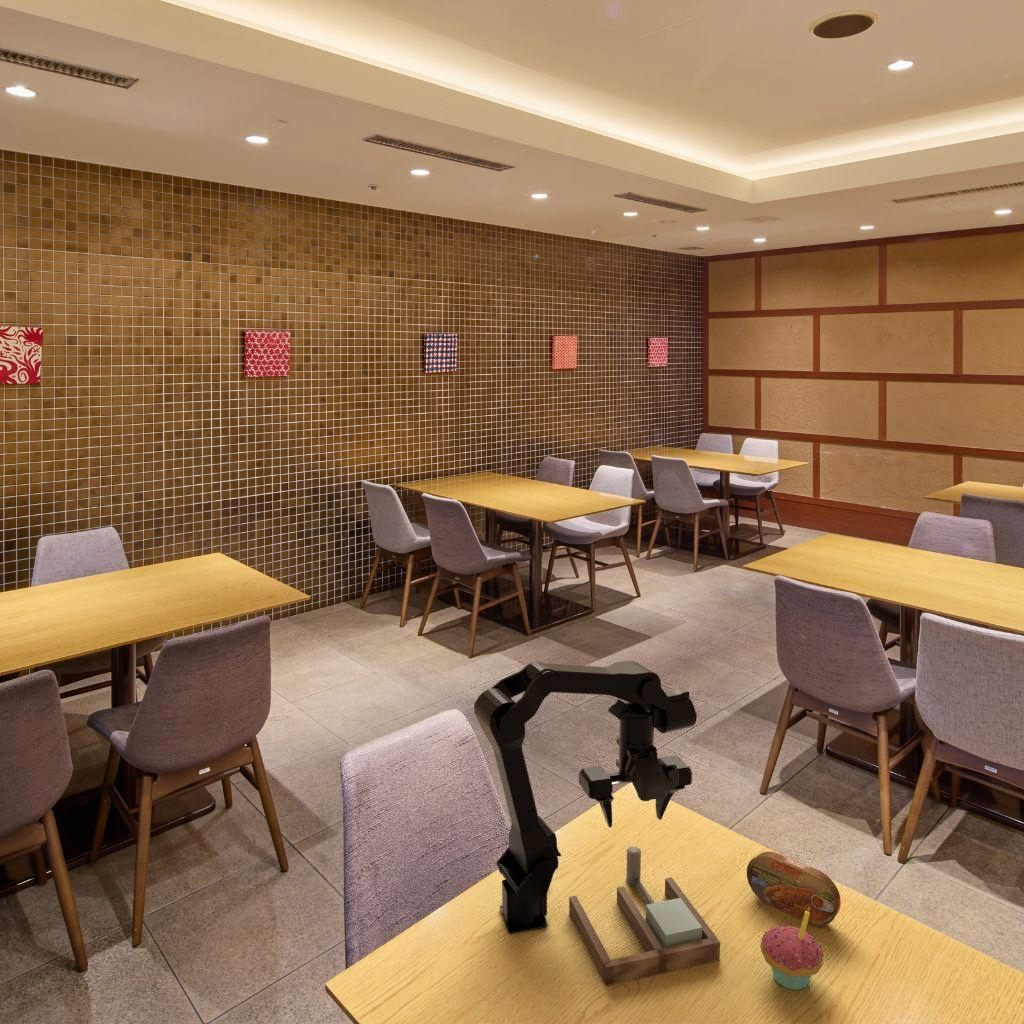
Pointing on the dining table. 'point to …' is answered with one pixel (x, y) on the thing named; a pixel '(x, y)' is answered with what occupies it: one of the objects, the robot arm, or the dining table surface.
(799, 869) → the tin
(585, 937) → the lane rack
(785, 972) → the cupcake
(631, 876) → the grey block with handle
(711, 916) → the dining table surface
